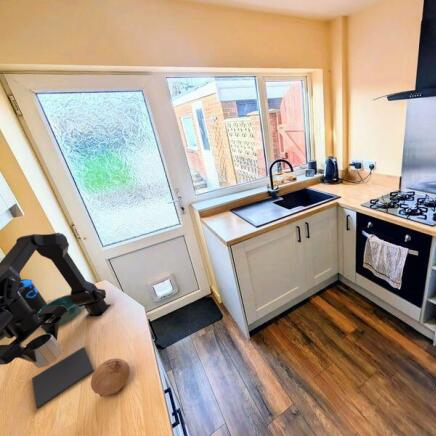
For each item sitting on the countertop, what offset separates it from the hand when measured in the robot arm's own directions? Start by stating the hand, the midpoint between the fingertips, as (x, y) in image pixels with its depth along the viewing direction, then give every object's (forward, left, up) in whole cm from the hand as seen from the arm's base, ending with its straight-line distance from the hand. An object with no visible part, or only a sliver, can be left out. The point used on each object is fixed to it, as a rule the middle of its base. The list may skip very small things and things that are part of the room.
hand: (45, 351), depth 76 cm
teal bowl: (+24, -27, -11) cm, 37 cm away
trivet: (0, 0, -11) cm, 11 cm away
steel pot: (0, 0, -3) cm, 3 cm away
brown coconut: (-21, +4, -12) cm, 25 cm away
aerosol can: (+38, -29, -12) cm, 49 cm away
